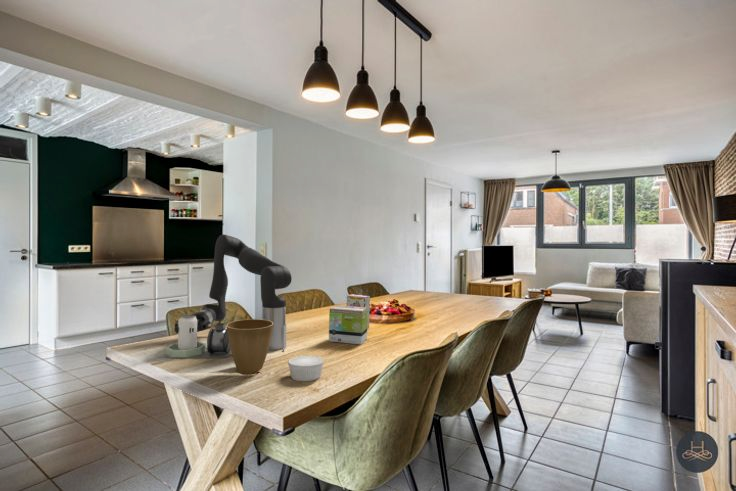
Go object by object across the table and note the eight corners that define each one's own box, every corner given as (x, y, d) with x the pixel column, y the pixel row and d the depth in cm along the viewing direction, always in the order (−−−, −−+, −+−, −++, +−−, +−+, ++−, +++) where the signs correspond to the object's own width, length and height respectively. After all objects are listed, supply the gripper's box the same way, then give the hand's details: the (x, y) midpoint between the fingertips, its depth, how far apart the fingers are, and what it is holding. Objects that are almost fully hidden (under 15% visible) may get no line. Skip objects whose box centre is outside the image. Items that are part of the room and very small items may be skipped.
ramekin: (285, 373, 131) (285, 357, 131) (318, 369, 135) (318, 354, 135) (291, 384, 120) (291, 367, 120) (327, 380, 124) (327, 364, 124)
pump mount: (237, 349, 157) (237, 341, 157) (226, 360, 143) (226, 350, 143) (175, 349, 156) (175, 341, 156) (158, 360, 142) (158, 350, 142)
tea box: (328, 342, 171) (328, 308, 171) (335, 337, 181) (336, 304, 181) (361, 345, 168) (362, 310, 168) (367, 339, 178) (368, 306, 177)
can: (190, 351, 145) (190, 318, 145) (174, 349, 146) (174, 317, 146) (200, 346, 152) (200, 315, 152) (184, 345, 153) (185, 314, 152)
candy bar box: (345, 327, 202) (346, 295, 201) (351, 325, 206) (351, 294, 206) (364, 330, 196) (364, 297, 195) (369, 328, 200) (370, 296, 200)
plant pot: (218, 370, 132) (218, 322, 132) (258, 361, 142) (259, 317, 142) (239, 382, 121) (239, 330, 121) (281, 372, 132) (281, 324, 131)
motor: (232, 349, 154) (233, 321, 154) (225, 355, 145) (226, 326, 145) (214, 349, 154) (215, 321, 154) (206, 355, 145) (207, 326, 145)
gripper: (182, 311, 163) (163, 320, 146) (218, 311, 164) (203, 320, 146) (182, 329, 163) (163, 340, 146) (217, 329, 164) (202, 340, 147)
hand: (183, 330), depth 146 cm, fingers closed on can, 4 cm apart
